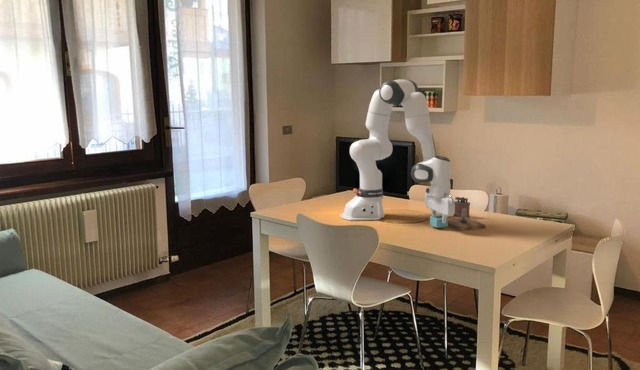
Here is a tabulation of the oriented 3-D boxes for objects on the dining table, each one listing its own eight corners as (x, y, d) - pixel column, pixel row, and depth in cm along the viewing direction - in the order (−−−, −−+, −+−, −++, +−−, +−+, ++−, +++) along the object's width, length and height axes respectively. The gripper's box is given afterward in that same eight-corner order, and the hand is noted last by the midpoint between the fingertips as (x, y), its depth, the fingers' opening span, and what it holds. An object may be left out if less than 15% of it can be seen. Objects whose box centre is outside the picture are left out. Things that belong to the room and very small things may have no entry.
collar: (436, 227, 256) (436, 219, 256) (429, 224, 262) (430, 216, 261) (447, 226, 258) (448, 218, 258) (441, 223, 264) (441, 215, 263)
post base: (459, 230, 255) (459, 212, 254) (442, 223, 268) (443, 206, 267) (485, 227, 260) (486, 209, 258) (468, 221, 273) (468, 204, 271)
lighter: (470, 216, 282) (470, 197, 280) (468, 218, 279) (469, 198, 277) (453, 215, 285) (454, 196, 283) (452, 216, 282) (453, 197, 280)
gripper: (459, 195, 249) (457, 226, 251) (435, 187, 268) (433, 215, 270) (446, 196, 246) (445, 227, 249) (423, 188, 265) (422, 216, 268)
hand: (438, 221), depth 260 cm, fingers closed on collar, 6 cm apart
